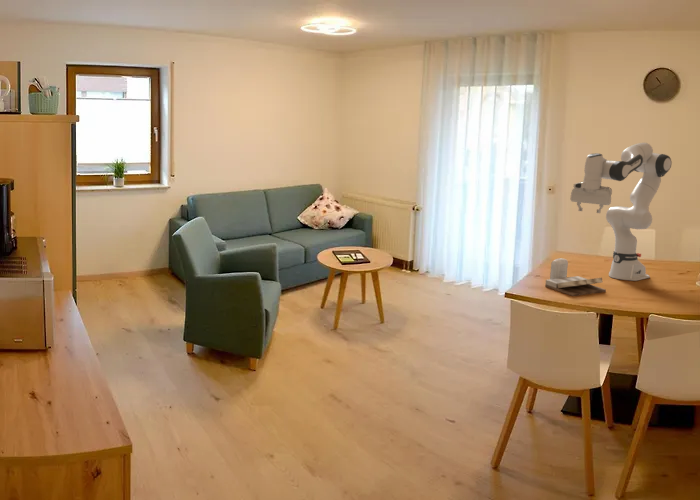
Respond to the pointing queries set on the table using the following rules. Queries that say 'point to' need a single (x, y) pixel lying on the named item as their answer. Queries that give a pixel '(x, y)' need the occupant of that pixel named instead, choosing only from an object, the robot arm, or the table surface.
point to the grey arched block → (559, 268)
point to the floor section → (574, 289)
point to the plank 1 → (571, 283)
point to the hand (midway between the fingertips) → (589, 212)
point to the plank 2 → (593, 281)
